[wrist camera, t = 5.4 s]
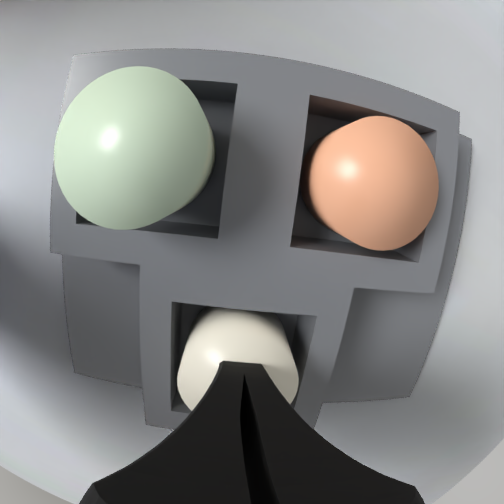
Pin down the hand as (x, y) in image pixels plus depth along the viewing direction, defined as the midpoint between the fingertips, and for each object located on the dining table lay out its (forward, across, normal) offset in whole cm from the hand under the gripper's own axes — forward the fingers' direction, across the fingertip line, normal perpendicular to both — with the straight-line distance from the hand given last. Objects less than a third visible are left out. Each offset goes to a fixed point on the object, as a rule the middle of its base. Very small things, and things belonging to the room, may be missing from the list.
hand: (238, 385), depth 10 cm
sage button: (+2, +3, -7) cm, 8 cm away
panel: (+4, -1, -4) cm, 5 cm away
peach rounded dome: (+3, -3, -7) cm, 8 cm away
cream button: (+3, 0, 0) cm, 3 cm away
